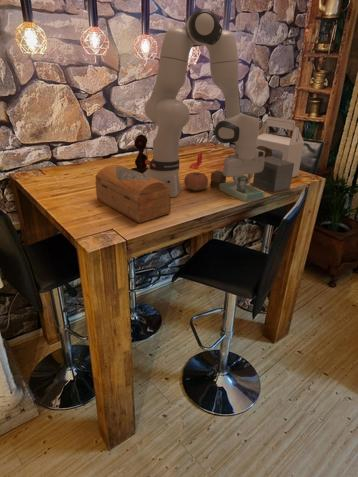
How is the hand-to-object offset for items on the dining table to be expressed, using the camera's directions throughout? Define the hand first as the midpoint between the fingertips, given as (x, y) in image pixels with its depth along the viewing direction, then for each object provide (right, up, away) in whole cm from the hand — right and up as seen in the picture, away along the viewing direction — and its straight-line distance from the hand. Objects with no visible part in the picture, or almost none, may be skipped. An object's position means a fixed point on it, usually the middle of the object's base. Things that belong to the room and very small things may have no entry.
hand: (241, 184), depth 156 cm
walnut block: (-10, 0, +9) cm, 13 cm away
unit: (+15, 0, +10) cm, 19 cm away
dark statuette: (-46, +7, +21) cm, 51 cm away
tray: (0, -4, +2) cm, 4 cm away
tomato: (-20, -2, +6) cm, 21 cm away
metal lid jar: (0, -3, +2) cm, 4 cm away
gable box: (+23, +11, +33) cm, 41 cm away
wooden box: (-46, -11, -14) cm, 49 cm away
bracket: (-19, +15, +40) cm, 47 cm away
